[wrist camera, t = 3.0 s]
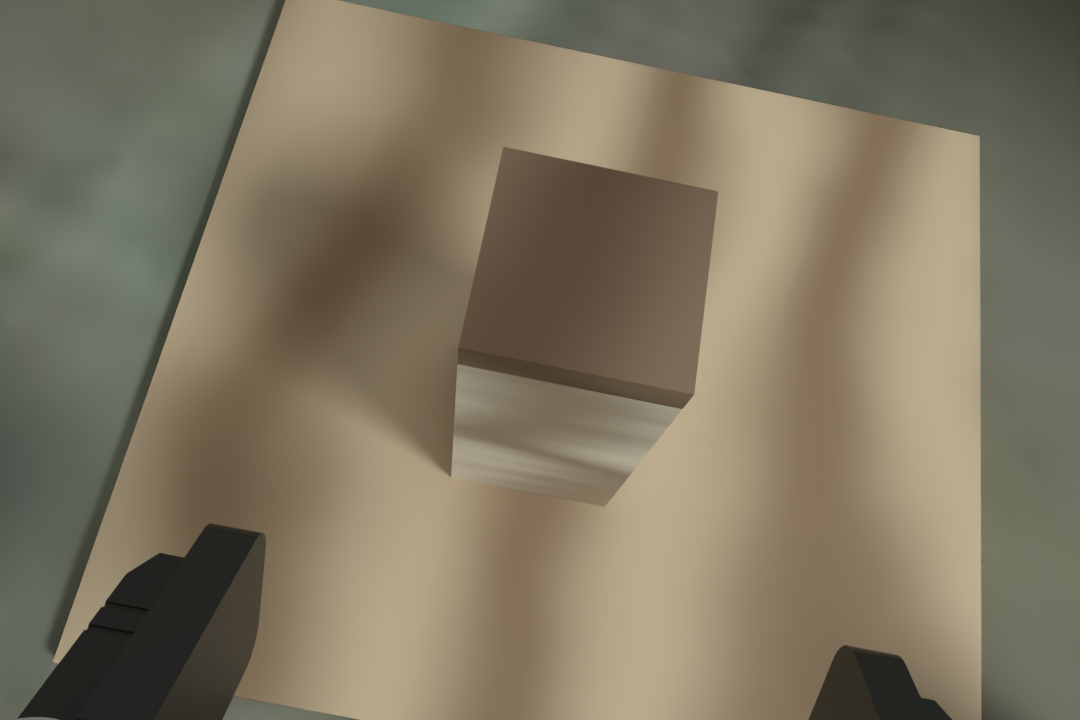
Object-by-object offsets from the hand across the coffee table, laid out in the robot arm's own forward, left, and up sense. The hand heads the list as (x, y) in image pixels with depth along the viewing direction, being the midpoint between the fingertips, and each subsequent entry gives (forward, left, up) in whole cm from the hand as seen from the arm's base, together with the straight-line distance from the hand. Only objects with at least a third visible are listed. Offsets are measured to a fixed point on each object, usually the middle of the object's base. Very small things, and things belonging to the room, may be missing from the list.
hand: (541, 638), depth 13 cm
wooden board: (-1, -8, -11) cm, 14 cm away
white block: (0, -6, -10) cm, 12 cm away
